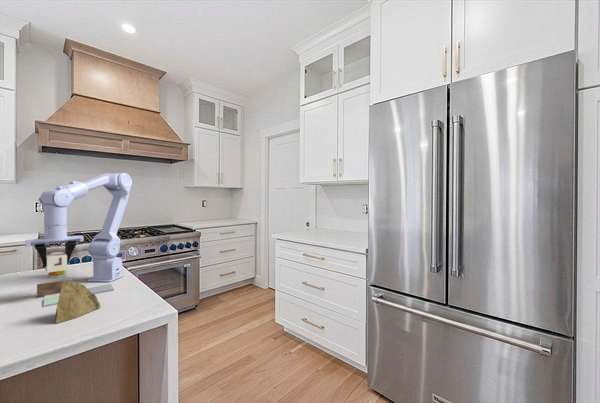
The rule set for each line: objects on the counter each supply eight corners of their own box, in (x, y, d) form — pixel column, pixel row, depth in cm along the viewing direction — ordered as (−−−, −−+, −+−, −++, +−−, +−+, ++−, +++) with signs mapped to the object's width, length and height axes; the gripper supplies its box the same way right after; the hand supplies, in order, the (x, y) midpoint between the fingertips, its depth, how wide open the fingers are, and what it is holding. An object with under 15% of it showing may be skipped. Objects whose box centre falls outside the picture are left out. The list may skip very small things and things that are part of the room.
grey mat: (110, 285, 103) (110, 284, 103) (113, 290, 97) (113, 289, 97) (87, 289, 98) (87, 288, 98) (89, 295, 93) (89, 293, 93)
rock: (102, 295, 87) (62, 297, 81) (105, 278, 83) (62, 279, 77) (97, 327, 79) (51, 331, 74) (99, 310, 75) (51, 314, 70)
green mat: (72, 294, 93) (72, 293, 93) (73, 300, 88) (73, 299, 88) (44, 299, 88) (44, 298, 88) (43, 306, 83) (43, 305, 83)
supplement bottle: (45, 277, 111) (44, 253, 111) (60, 273, 116) (59, 251, 116) (54, 278, 110) (53, 254, 109) (69, 274, 115) (68, 252, 114)
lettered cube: (64, 266, 95) (64, 252, 95) (67, 269, 92) (67, 255, 92) (45, 269, 92) (44, 255, 92) (47, 272, 88) (47, 257, 88)
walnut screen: (71, 289, 98) (71, 278, 98) (72, 291, 96) (72, 280, 96) (37, 295, 92) (37, 283, 92) (36, 297, 90) (36, 286, 90)
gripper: (80, 222, 99) (80, 259, 100) (24, 225, 88) (24, 266, 89) (84, 224, 95) (85, 262, 95) (26, 227, 84) (26, 270, 84)
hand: (56, 264), depth 92 cm, fingers closed on lettered cube, 5 cm apart
